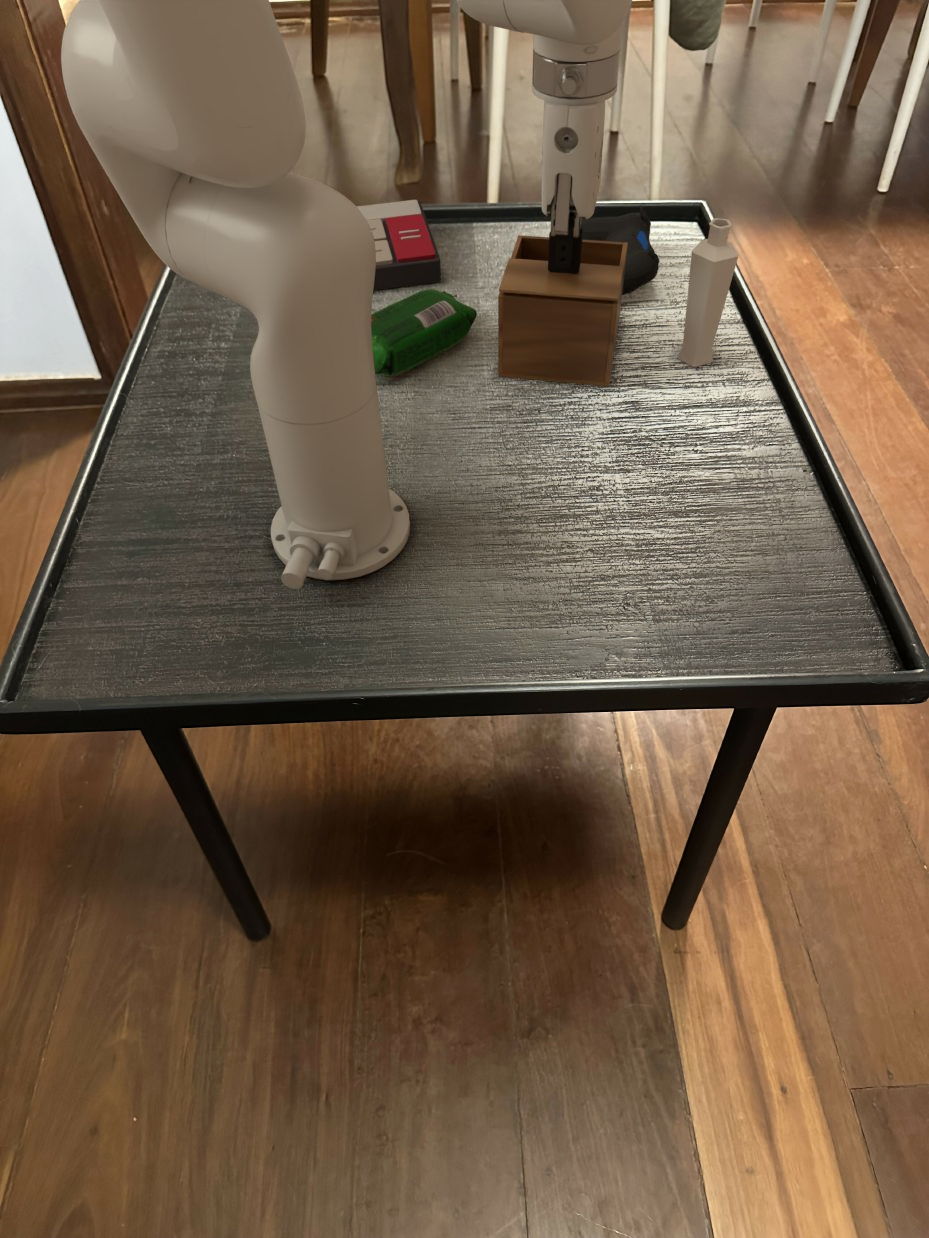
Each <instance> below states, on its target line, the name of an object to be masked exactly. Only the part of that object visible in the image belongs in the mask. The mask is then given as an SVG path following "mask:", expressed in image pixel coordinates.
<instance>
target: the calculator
mask: <svg viewBox="0 0 929 1238" xmlns="http://www.w3.org/2000/svg"><path fill="white" fill-rule="evenodd" d="M356 207H357V208H358V209H359V210H360V211H361V213H362V214H363V215H364V217H365V218H366V220H367V222H368V224H369V226H370V228H371V231H372V234H373V237H374V241H375V248H376V267H375V279H374V288H373V291H379V290H387V289H394V288H402V287H411V286H418V285H419V286H420V285H427V284H433V283H434V284H435V283H440V282H441V281H442V268H441V256H440V254H439V251H438V248H437V246H436V241H435V239H434V237H433V234H432V231H431V228H430V225H429V222H428V220H427V217H426V216H427V215H426V214H425V211H424V208H423V205H422V203H421V201H420V200H417V199H409V200H401V201H393V202H392V201H391V202H383V203H376V204H375V203H374V204H368V205H367V204H365V205H357V206H356Z"/></svg>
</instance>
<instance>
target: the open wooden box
mask: <svg viewBox="0 0 929 1238" xmlns="http://www.w3.org/2000/svg"><path fill="white" fill-rule="evenodd" d="M627 247H628V243H626V242H624V243H623V242H611V241H596V240H582V253H581V263H583V264H597V265H611V266H623V272H622V278H621V284H620V290H619V296H618V301H612V300H599V299H586V298H573V297H560V296H546V295H533V294H520V293H507V292H499V293H498V296H497V316H498V317H497V318H498V319H497V323H498V324H497V376H498V377H500V378H510V379H511V378H512V379H520V380H521V379H522V380H533V381H544V382H554V383H564V384H565V383H566V384H577V385H589V386H599V387H600V386H601V387H610V384H611V376H612V370H613V364H614V357H615V350H616V345H617V338H618V332H619V326H620V318H621V310H622V300H623V295H622V292H623V283H624V274H625V265H626V256H627ZM512 250H513V251H512V253H511V256H510V258H512V259H526V260H540V261H548V251H549V236H535V235H520V234H518V235H517V237H516V241H515V244H514V247H513V249H512Z"/></svg>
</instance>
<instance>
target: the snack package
mask: <svg viewBox="0 0 929 1238" xmlns="http://www.w3.org/2000/svg"><path fill="white" fill-rule="evenodd" d="M456 298H458V295H457V294H455V295H452V294H450V293H448V292H446V291H445V290H443V291H440V290H437V289H434V288H426V289H423V290H420V291H418V292H415V293H413V294H410V295H409V296H407V297H405V298H403V299H400V300H398V301H396V302H394V303H392V304H390V305H387V306H385V307H384V308H381V309H380V310H377V311H375V312H373V313H371V330H372V348H373V359H374V368H375V376H376V375H383V376H386V377H397V376H400V375H402V374H404V373H406V372H408V371H410V370H412V369H413V368H415V367H417V366H419V365H420V364H422V363H424V362H426V361H428V360H430V359H432V358H434V357H436V356H438V355H440V354H441V353H443V352H445V351H447V350H448V349H450V348H451V347H453V346H455V345H457V344H459V343H460V342H461V341H462V340H464V339H465V338H466V336H467V335H468V334H469V332H470V330H471V328H472V327H473V324H474V322H475V320H476V319H477V316H478V312H477V310H476V309H475V308H473V307H472V306H469V305H467V304H464V303H462V302H460V301H458V300H457V299H456Z"/></svg>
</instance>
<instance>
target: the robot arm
mask: <svg viewBox="0 0 929 1238" xmlns="http://www.w3.org/2000/svg"><path fill="white" fill-rule="evenodd" d="M455 1H456V3H457V4H458V6H459V7H460V9H461V10H462V11H463V12H464V13H465V14H466V15H468V16H469V17H470V18H471V19H473V20H475V21H478V22H480V23H481V24H484V25H486V26H491V27H494V28H500V29H503V30H508V31H513V32H518V33H522V34H525V33H526V34H531V35H533V39H532V77H531V79H532V82H531V92H532V93H533V95H534V96H535V97H536V98H538V99H539V100H542V101H543V121H542V144H541V186H540V187H541V188H540V189H541V192H540V195H541V196H540V197H541V212H542V213H543V215H545V217H549V214H550V231H549V233H548V237H549V251H548V271H550V272H556V273H570V274H577V273H578V272H579V269H580V264H581V253H582V239H583V229H582V228H580V227H581V224H582V220H583V218H584V219H589V218H592V216H593V215H594V213H595V210H596V206H597V201H598V197H599V191H600V188H601V181H602V165H603V164H602V163H603V150H604V149H603V148H604V134H605V122H606V121H605V120H606V101H607V100H609V99H611V98H612V97H614V96H615V95H616V93H617V91H618V90H617V89H618V81H619V70H620V58H621V46H622V37H623V36H622V35H623V25H624V21H625V19H626V18H627V16H628V13H629V12H630V9H631V6H632V2H633V0H455ZM60 62H61V73H62V81H63V85H64V89H65V92H66V93H65V94H66V97H67V100H68V103H69V106H70V108H71V113H72V114H73V116H74V119H75V121H76V123H77V125H78V127H79V129H80V131H81V132H82V135H83V136H84V138H85V139H86V141H87V143H88V144H89V147H90V149H91V150H92V152H93V154H94V156H95V157H96V158H97V160H98V162H99V164H100V166H101V168H102V169H103V171H104V173H105V174H106V176H107V177H108V179H109V181H110V183H111V184H112V186H113V187H114V190H115V191H116V193H117V194H118V196H119V198H120V200H121V201H122V203H123V204H124V207H125V208H126V209H127V212H128V213H129V214H130V217H131V218H132V220H133V221H134V223H135V224H136V226H137V229H138V230H139V231H140V233H141V234H142V236H143V238H144V239H145V241H146V242H147V243H148V245H149V247H150V248H151V249H152V251H153V252H154V253H155V255H156V256H157V257H158V258H159V260H161V262H162V263H163V264H164V265H166V266H167V268H169V269H170V270H171V271H172V272H173V273H175V274H176V275H178V276H179V277H181V278H183V279H185V280H186V281H189V282H191V283H193V284H195V285H196V286H199V287H201V288H203V289H205V290H208V291H210V292H212V293H214V294H217V295H218V296H221V297H224V298H225V299H228V300H229V301H231V302H233V303H235V304H237V305H239V306H241V307H243V308H245V309H247V310H248V311H249V312H250V313H252V314H253V316H254V317H255V319H256V321H257V325H258V326H257V327H258V334H257V337H256V340H255V342H254V345H253V347H252V350H251V353H250V358H249V359H250V360H249V371H250V378H251V383H252V384H251V385H252V388H253V393H254V397H255V401H256V404H257V408H258V412H259V413H258V414H259V417H260V421H261V425H262V429H263V433H264V438H265V442H266V446H267V451H268V456H269V458H270V459H269V460H270V463H271V467H272V472H273V476H274V480H275V484H276V489H277V492H278V497H279V502H280V505H281V506H280V507H279V508H278V509H277V510H276V511H275V514H274V517H273V518H272V520H271V525H270V540H271V544H272V546H273V550H274V552H275V554H276V556H277V557H278V559H279V560H280V561H281V562H282V563H283V564H284V565H285V567H284V569H283V572H282V574H281V575H280V580H281V581H280V582H281V583H282V584H283V585H284V586H285V587H287V588H289V589H292V590H299V589H301V588H302V587H303V586H304V583H305V581H306V579H307V577H308V578H312V579H316V580H324V581H339V580H343V581H344V580H349V579H350V580H351V579H354V578H355V579H356V578H359V577H362V576H366V575H368V574H371V573H374V572H376V571H378V570H380V569H381V568H383V567H385V566H386V565H388V564H389V563H390V562H392V561H394V559H395V558H396V557H397V556H398V555H399V554H400V553H401V552H402V551H403V549H404V548H405V546H406V544H407V543H408V539H409V537H410V531H411V522H410V513H409V510H408V508H407V505H406V503H405V502H404V501H403V499H402V498H401V497H400V496H399V495H398V494H397V493H396V492H395V491H394V490H392V489H390V488H389V480H388V479H389V478H388V471H387V461H386V454H385V445H384V437H383V428H382V419H381V412H380V410H381V409H380V403H379V401H380V400H379V393H378V392H379V391H378V386H377V385H378V384H377V377H376V375H375V368H374V359H373V348H372V330H371V314H372V311H373V296H374V290H373V288H374V279H375V267H376V248H375V241H374V237H373V234H372V231H371V228H370V226H369V224H368V222H367V220H366V218H365V217H364V215H363V214H362V213H361V211H360V210H359V209H358V208H357V206H356V205H355V204H354V202H353V201H351V199H349V198H348V197H346V196H345V195H344V194H342V193H341V192H339V191H338V190H336V189H334V188H332V187H330V186H329V185H327V184H324V183H323V182H320V181H318V180H316V179H312V178H310V177H307V176H304V175H301V174H298V173H297V172H296V173H295V172H293V171H292V170H293V169H294V168H295V166H296V165H297V163H298V161H299V159H300V158H301V155H302V153H303V150H304V147H305V141H306V132H307V131H306V130H307V129H306V128H307V123H306V122H307V121H306V115H305V109H304V108H305V107H304V101H303V96H302V92H301V89H300V87H299V83H298V80H297V77H296V74H295V71H294V67H293V65H292V61H291V59H290V57H289V54H288V51H287V48H286V44H285V43H284V39H283V37H282V34H281V31H280V28H279V25H278V22H277V20H276V17H275V14H274V12H273V9H272V5H271V3H270V0H79V1H78V2H77V3H76V5H75V6H74V7H73V9H72V11H71V12H70V14H69V17H68V19H67V21H66V25H65V27H64V29H63V33H62V41H61V51H60Z"/></svg>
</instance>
